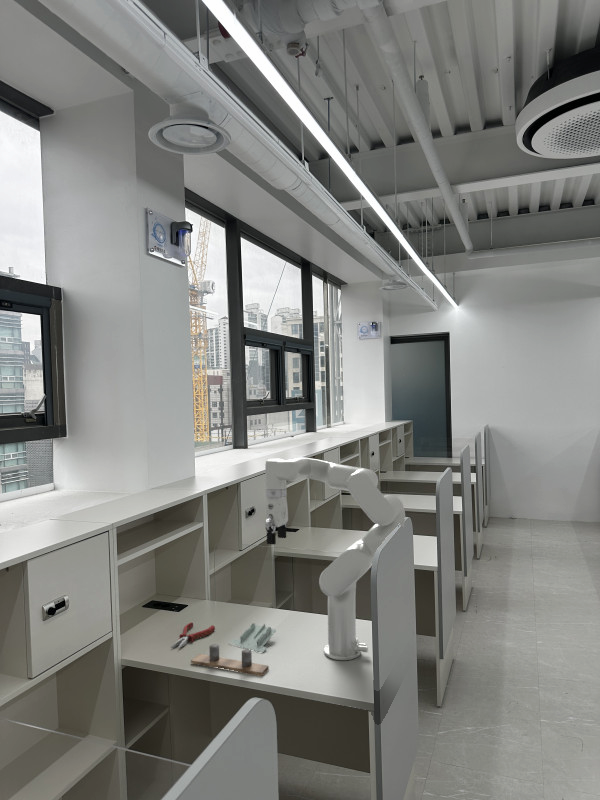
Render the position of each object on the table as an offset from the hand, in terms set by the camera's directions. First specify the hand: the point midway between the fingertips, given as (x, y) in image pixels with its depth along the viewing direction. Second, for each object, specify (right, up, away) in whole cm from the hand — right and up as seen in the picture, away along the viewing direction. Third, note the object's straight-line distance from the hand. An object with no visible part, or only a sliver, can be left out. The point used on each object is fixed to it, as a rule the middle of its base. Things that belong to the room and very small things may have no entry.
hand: (276, 540), depth 201 cm
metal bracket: (-8, -38, +1) cm, 38 cm away
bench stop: (-15, -37, -18) cm, 44 cm away
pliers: (-33, -38, +6) cm, 51 cm away
